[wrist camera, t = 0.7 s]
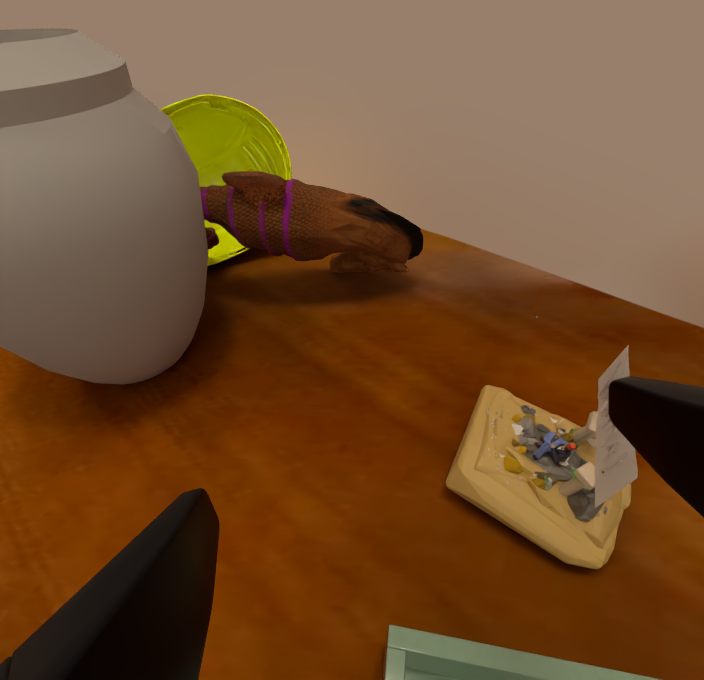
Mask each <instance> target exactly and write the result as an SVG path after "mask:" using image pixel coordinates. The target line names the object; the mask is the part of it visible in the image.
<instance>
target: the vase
mask: <svg viewBox="0 0 704 680" xmlns="http://www.w3.org/2000/svg"><path fill="white" fill-rule="evenodd" d="M207 264H208V246H207V238H206V231H205V223H204V216H203V208H202V201H201V193H200V186H199V178H198V172H197V170H196V168H195V166H194V164H193V162H192V160H191V158H190V156H189V154H188V152H187V150H186V149H185V147H184V145H183V143H182V141H181V139H180V137H179V135H178V133H177V131H176V129H175V127H174V125H173V123H172V121H171V120H170V119H169V117H168V116H167V115H166V114H165V113H163V112H162V111H161V110H160V109H159V108H157V107H156V106H155V105H154V104H153V103H151V102H150V101H149V100H148V99H147V98H145V97H144V96H143V95H142V94H141V93H139V92H138V91H137V90H136V89H134V88H133V87H132V83H131V80H130V76H129V73H128V69H127V66H126V62H125V61H124V60H123V59H122V58H120V57H119V56H117V55H115V54H114V53H112V52H110V51H109V50H107V49H106V48H104V47H102V46H101V45H99V44H97V43H96V42H94V41H92V40H91V39H89V38H88V37H86V36H85V35H84V34H82V33H81V32H79V31H78V30H72V29H17V30H0V347H2V348H4V349H6V350H8V351H10V352H12V353H14V354H16V355H18V356H20V357H22V358H24V359H26V360H28V361H30V362H32V363H34V364H36V365H38V366H40V367H42V368H44V369H46V370H48V371H50V372H54V373H58V374H62V375H66V376H69V377H73V378H77V379H81V380H85V381H89V382H93V383H103V384H131V383H136V382H140V381H144V380H147V379H149V378H152V377H154V376H156V375H158V374H160V373H162V372H164V371H165V370H167V369H168V368H170V367H171V366H172V365H173V364H174V363H176V362H177V361H178V359H179V358H180V357H181V356H182V355H183V353H184V352H185V350H186V349H187V347H188V346H189V344H190V342H191V340H192V339H193V337H194V334H195V331H196V328H197V325H198V323H199V320H200V317H201V314H202V310H203V306H204V301H205V289H206V276H207Z"/></svg>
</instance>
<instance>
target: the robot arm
mask: <svg viewBox="0 0 704 680" xmlns="http://www.w3.org/2000/svg"><path fill="white" fill-rule="evenodd" d="M608 414H609V418H610V420H611V422H612V423H613V425H614V426H615V427H616V428H617V429H618V430H619V431H620V433H621V434H622V435H623V436H624V437H625V438H626V439H627V440H628V441H629V443H630V444H631V445H632V446H633V447H634V448H635V449H636V450H637V451H638V452H639V454H640V455H641V456H642V457H643V458H644V459H645V460H646V461H647V462H648V463H649V465H650V466H651V467H652V468H653V469H654V470H655V471H656V472H657V473H658V474H659V475H660V476H661V477H662V479H663V480H664V481H665V482H666V483H667V484H668V485H669V486H671V487H672V488H673V489H674V490H675V491H676V492H677V493H678V494H679V495H680V496H681V497H682V498H683V499H684V500H685V501H687V502H688V503H689V504H690V505H691V506H692V507H693V508H694V509H695V510H696V511H697V512H698V513H700V514H701V515H702V516H703V517H704V387H699V386H692V385H686V384H680V383H673V382H667V381H660V380H654V379H647V378H641V377H635V376H627V377H623V378H620V379H616V380H613V381H612V382H610V384H609V391H608ZM218 539H219V520H218V516H217V514H216V512H215V509H214V507H213V505H212V503H211V500H210V498H209V496H208V494H207V492H206V491H205V490H204V489H202V488H199V489H195V490H191V491H187V492H184V493H182V494H181V495H180V496H179V497H178V498H177V499H176V500H175V501H174V502H173V503H172V504H171V505H169V506H168V507H167V508H166V509H165V510H164V511H163V512H162V513H161V514H160V515H159V516H158V517H157V518H156V519H155V520H154V521H152V522H151V523H150V524H149V525H148V526H147V527H146V528H145V529H144V530H143V531H142V532H141V533H140V534H139V535H138V536H137V537H135V538H134V539H133V540H132V541H131V542H130V543H129V544H128V545H127V546H126V547H125V548H124V549H123V550H122V551H121V552H120V553H118V554H117V555H116V556H115V557H114V558H113V559H112V560H111V561H110V562H109V563H108V564H107V565H106V566H105V567H104V568H103V569H101V570H100V571H99V572H98V573H97V574H96V575H95V576H94V577H93V578H92V579H91V580H90V581H89V582H88V583H87V584H86V585H84V586H83V587H82V588H81V589H80V590H79V591H78V592H77V593H76V594H75V595H74V596H73V597H72V598H71V599H70V600H69V601H67V602H66V603H65V604H64V605H63V606H62V607H61V608H60V609H59V610H58V611H57V612H56V613H55V614H54V615H53V616H52V617H50V618H49V619H48V620H47V621H46V622H45V623H44V624H43V625H42V626H41V627H40V628H39V629H38V630H37V631H36V632H35V633H33V634H32V635H31V636H30V637H29V638H28V639H27V640H26V641H25V642H24V643H23V644H22V645H21V646H20V647H19V648H18V649H16V650H15V651H14V653H13V655H12V657H9V658H7V659H6V660H5V661H4V662H2V663H1V664H0V680H198V677H199V672H200V667H201V662H202V657H203V652H204V646H205V641H206V636H207V631H208V626H209V621H210V615H211V609H212V603H213V594H214V584H215V573H216V562H217V550H218Z"/></svg>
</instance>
